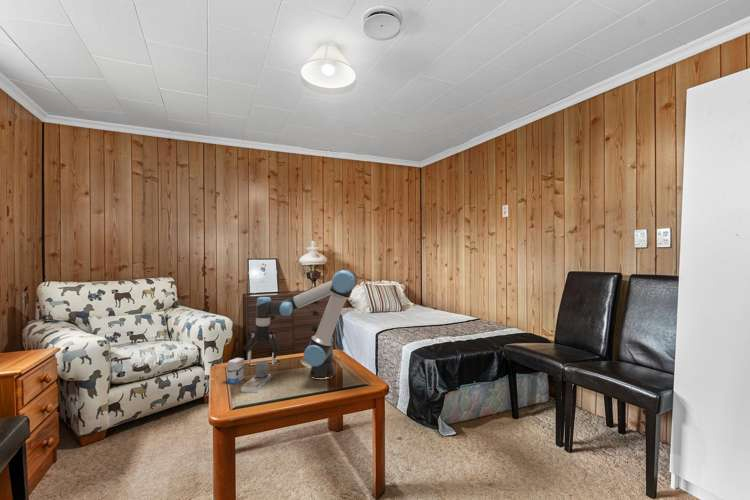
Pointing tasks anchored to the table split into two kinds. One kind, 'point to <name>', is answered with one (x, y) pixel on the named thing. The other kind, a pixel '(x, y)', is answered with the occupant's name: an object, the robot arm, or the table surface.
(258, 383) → the white piece
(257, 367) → the grey rectangular block
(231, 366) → the ink box
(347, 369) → the table surface
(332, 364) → the robot arm
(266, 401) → the table surface
